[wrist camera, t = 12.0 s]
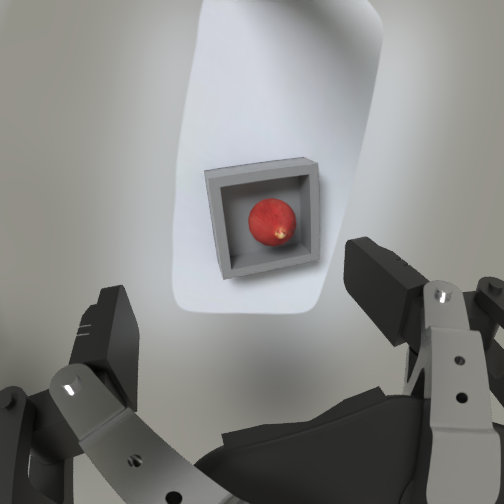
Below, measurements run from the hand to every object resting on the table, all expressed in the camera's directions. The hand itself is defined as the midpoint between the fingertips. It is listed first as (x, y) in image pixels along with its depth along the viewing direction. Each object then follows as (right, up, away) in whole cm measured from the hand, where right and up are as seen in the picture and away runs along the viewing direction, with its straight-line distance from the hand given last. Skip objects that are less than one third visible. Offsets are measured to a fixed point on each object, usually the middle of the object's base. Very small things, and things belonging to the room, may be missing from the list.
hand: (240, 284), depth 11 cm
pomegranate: (+2, +6, +31) cm, 32 cm away
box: (+1, +7, +32) cm, 32 cm away
